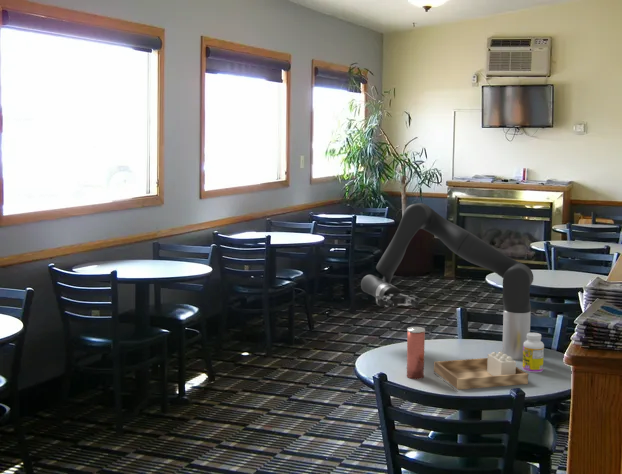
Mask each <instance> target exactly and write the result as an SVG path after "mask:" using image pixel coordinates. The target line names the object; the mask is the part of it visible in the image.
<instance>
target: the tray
mask: <svg viewBox="0 0 622 474" xmlns="http://www.w3.org/2000/svg"><path fill="white" fill-rule="evenodd" d="M487 360H488V357H482V358H481V357H480V358H468V359H466V358H465V359H454V360H441V361H433V372H434V373H433V374H434V375H436V376H437V377H438V378H439V379H441V380H442V381H443V382H444V383H446V384H447V385H448V386H450V388H452V389H453V390H455V391H456V392H459V391H458V390H468V389H469V390H470V389H471V390H472V389H480V388H493V387H494V388H495V387H505V386H520V385H528V383H529V373H528V372H527V371H524V370H523V369H522V368H521V369H520V368H519V367H517V366H516V374H510V375H497V376H493V375H491V374H490V373H488V372H487Z"/></svg>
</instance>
